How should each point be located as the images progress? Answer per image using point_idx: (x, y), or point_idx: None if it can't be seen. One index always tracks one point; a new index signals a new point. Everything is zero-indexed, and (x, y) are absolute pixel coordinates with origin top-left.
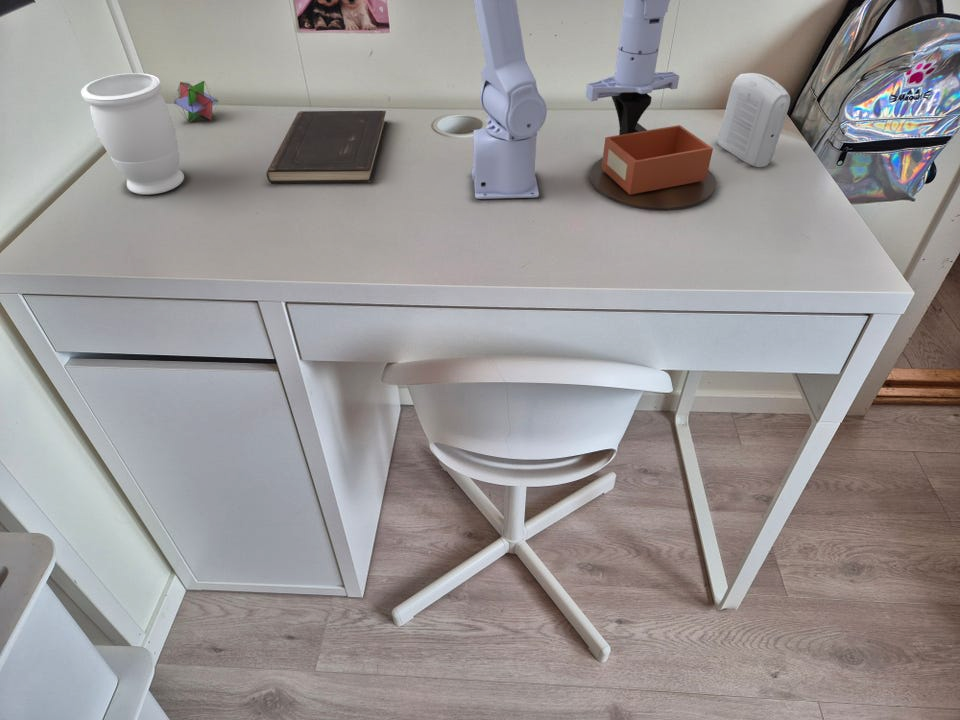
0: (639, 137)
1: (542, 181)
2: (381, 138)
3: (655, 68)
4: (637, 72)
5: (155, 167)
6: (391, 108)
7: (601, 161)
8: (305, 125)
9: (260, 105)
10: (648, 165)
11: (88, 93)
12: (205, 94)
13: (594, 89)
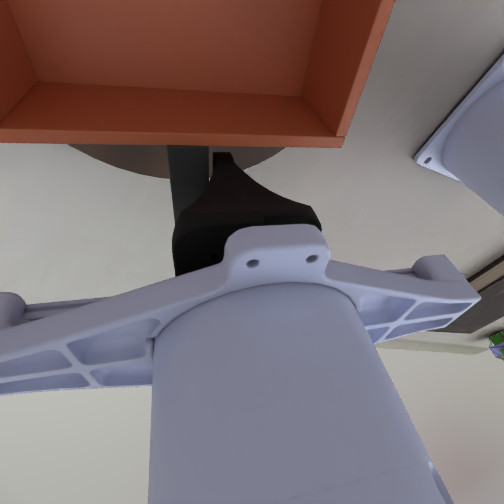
0: (206, 125)
1: (426, 120)
2: None
3: (167, 416)
4: (361, 374)
5: None
6: None
7: (268, 148)
8: (499, 314)
9: (449, 344)
10: None
11: None
12: (494, 353)
13: (473, 292)
